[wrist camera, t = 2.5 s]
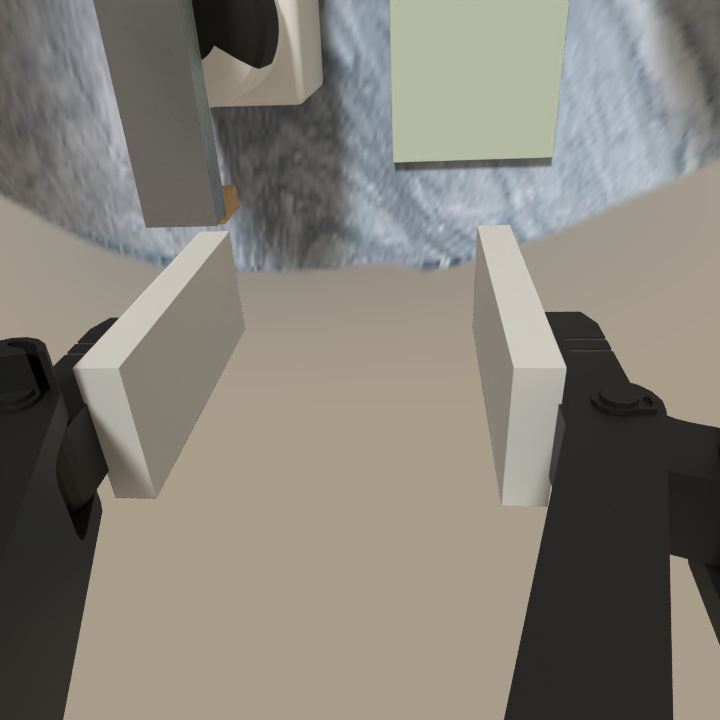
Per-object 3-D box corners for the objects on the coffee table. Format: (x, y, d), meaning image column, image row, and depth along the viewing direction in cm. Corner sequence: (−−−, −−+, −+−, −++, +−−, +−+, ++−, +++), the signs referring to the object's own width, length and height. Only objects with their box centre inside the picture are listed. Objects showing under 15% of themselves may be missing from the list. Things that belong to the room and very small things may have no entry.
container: (181, -58, 35) (69, -83, 24) (315, -64, 34) (265, -94, 23) (203, 90, 39) (116, 127, 28) (324, 86, 38) (285, 123, 27)
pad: (393, 160, 40) (393, 162, 40) (389, -20, 35) (389, -20, 35) (551, 155, 39) (552, 157, 39) (570, -31, 34) (572, -32, 34)
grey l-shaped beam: (238, 154, 38) (147, 233, 25) (191, -164, 30) (28, -280, 18) (285, 152, 38) (218, 231, 25) (250, -169, 30) (128, -291, 17)
